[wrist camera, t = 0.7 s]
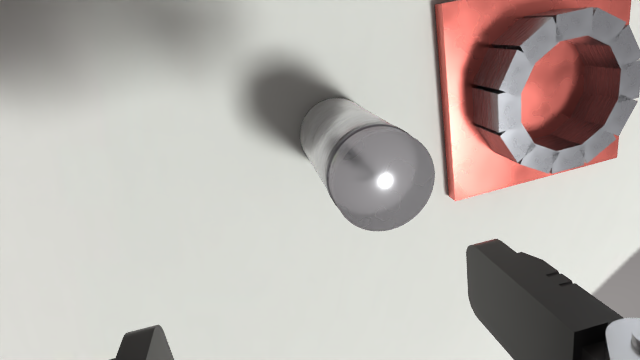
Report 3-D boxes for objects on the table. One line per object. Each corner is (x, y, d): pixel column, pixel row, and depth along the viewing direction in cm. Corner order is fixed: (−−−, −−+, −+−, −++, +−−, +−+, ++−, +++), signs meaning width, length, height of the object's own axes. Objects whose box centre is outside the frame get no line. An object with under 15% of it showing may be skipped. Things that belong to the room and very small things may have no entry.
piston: (292, 106, 28) (324, 145, 18) (365, 89, 28) (431, 119, 19) (307, 176, 29) (342, 243, 20) (375, 159, 30) (439, 217, 21)
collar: (434, 4, 27) (466, 0, 24) (621, -34, 29) (678, -43, 25) (448, 196, 32) (477, 217, 29) (606, 154, 34) (652, 169, 30)
